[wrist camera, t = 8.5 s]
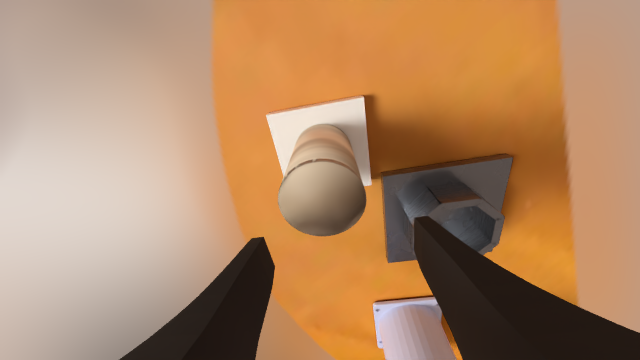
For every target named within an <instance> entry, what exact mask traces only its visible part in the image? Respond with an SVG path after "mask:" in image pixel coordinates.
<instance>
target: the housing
mask: <svg viewBox="0 0 640 360" xmlns="http://www.w3.org/2000/svg"><path fill="white" fill-rule="evenodd" d="M512 161H513V157H512V156H510V155H508V154H500V155H494V156H487V157H480V158H474V159H467V160H460V161H454V162H447V163H441V164H434V165H427V166H421V167H414V168H408V169H401V170H394V171H388V172H381V183H382V198H383V214H384V229H385V244H386V258H387V261H388V263H392V262H401V261H410V260H417V258H416V255H415V252H414V217H421V216H429V217H430V218H432V219H433V220H434V221H436V222H437V223H438V224H440V225H441V226H442V227H444V228H445V229H446V230H448V231H449V232H450V233H452V234H453V235H454V236H456V237H457V238H458V239H460V240H461V241H463V242H464V243H465V244H467V245H468V246H470V247H471V248H473V249H474V250H475V251H477V252H478V253H480V254H482V255H484V254H485V253H487V252H491V251H492V249H493V248H494V247H495V246H497V245H498V244H499V240H500V235H501V231H502V227H503V223H504V219H505V217H504V215H502V214H501V209H502V205H503V200H504V196H505V192H506V187H507V183H508V178H509V174H510V169H511V165H512Z"/></svg>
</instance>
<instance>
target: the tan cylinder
mask: <svg viewBox="0 0 640 360" xmlns="http://www.w3.org/2000/svg"><path fill="white" fill-rule="evenodd" d="M278 204H279V208H280V211H281V213H282V215H283V217H284V218H285V219H286V221H287V222H288V223H289V224H290V225H292V226H293V227H294V228H296V229H297V230H299V231H301V232H303V233H306V234H309V235H314V236H331V235H336V234H339V233H342V232H344V231H346V230H348V229H349V228H351V227H352V226H353V225H354V224H356V223H357V221H358V220H359V219H360V218H361V216H362V214H363V212H364V210H365V206H366V193H365V189H364V185H363V182H362V179H361V176H360V172H359V169H358V166H357V163H356V159H355V156H354V153H353V150H352V146H351V143H350V140H349V138H348V137H347V135H346V134H345V133H344V132H343V131H342V130H341V129H339V128H337V127H335V126H333V125H329V124H317V125H313V126H311V127H309V128H307V129H306V130H304V131H303V132H302V133H301V135H300V136H299V137H298V139H297V141H296V144H295V147H294V150H293V152H292V155H291V158H290V161H289V164H288V166H287V169H286V172H285V175H284V178H283V181H282V183H281V186H280V189H279V193H278Z"/></svg>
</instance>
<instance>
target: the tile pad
mask: <svg viewBox="0 0 640 360" xmlns="http://www.w3.org/2000/svg"><path fill="white" fill-rule="evenodd" d="M266 117H267V120H268V124H269V127H270V131H271V134H272V138H273V141H274V144H275V148H276V151H277V155H278V158H279V162H280V165H281V169H282V172H283V176H284V175H285V172H286V169H287V166H288V164H289V161H290V158H291V155H292V152H293V150H294V147H295V144H296V141H297V139H298V137H299V136H300V135H301V133H302V132H303V131H304V130H306V129H307V128H309V127H311V126H313V125H317V124H329V125H333V126H335V127H337V128H339V129H341V130H342V131H343V132H344V133H345V134H346V135H347V137H348V138H349V140H350V143H351V146H352V150H353V153H354V156H355V159H356V163H357V166H358V169H359V172H360V176H361V179H362V182H363V185H364V186H368V185H372V184H371V173H370V161H369V150H368V139H367V127H366V116H365V105H364V97H363V96H362V95H360V96H355V97H350V98H344V99H339V100H334V101H328V102H323V103H318V104H312V105H307V106H302V107H296V108H291V109H285V110H280V111H275V112H269V113H268V114H267V115H266Z"/></svg>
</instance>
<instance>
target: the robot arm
mask: <svg viewBox="0 0 640 360" xmlns="http://www.w3.org/2000/svg"><path fill="white" fill-rule="evenodd" d="M414 252H415V255H416V258H417V261H418V263H419V266H420V269H421V271H422V273H423V275H424V277H425V279H426V281H427V283H428V285H429V287H430V289H431V291H432V293H433V295H434V297H426V298H415V299H405V300H394V301H384V302H375V303H374V304H373V311H374V319H375V328H376V336H377V344H378V347H379V348H383V349H384V354H385V359H386V360H457V359H456V357H455V354H454V352H453V350H452V348H451V345H450V343H449V341H448V339H447V336H446V334H445V332H444V329H443V327H442V325H441V317H442V313H443V315H444V317H445V319H446V321H447V323H448V325H449V327H450V329H451V331H452V334H453V336H454V339H455V341H456V344H457V346H458V349H459V351H460V353H461V356H462V358H463V360H640V333H638V332H636V331H633V330H630V329H628V328H626V327H623V326H621V325H618V324H616V323H614V322H612V321H609V320H607V319H605V318H602V317H600V316H598V315H595V314H593V313H591V312H589V311H586V310H584V309H582V308H580V307H578V306H575V305H573V304H571V303H569V302H567V301H565V300H563V299H561V298H559V297H557V296H555V295H553V294H551V293H549V292H547V291H545V290H543V289H541V288H539V287H537V286H535V285H533V284H531V283H529V282H527V281H525V280H524V279H522V278H520V277H518V276H516V275H515V274H513V273H511V272H509V271H508V270H506V269H504V268H502V267H501V266H499V265H497V264H496V263H494V262H493V261H491V260H489V259H488V258H486V257H485V256H483V255H482V254H480V253H478V252H477V251H475V250H474V249H473V248H471V247H470V246H468V245H467V244H465V243H464V242H463V241H461V240H460V239H458V238H457V237H456V236H454V235H453V234H452V233H450V232H449V231H448V230H446V229H445V228H444V227H442V226H441V225H440V224H438V223H437V222H436V221H434V220H433V219H432V218H430V217H429V216H421V217H414ZM274 270H275V265H274V263H273V260H272V258H271V255H270V252H269V250H268V247H267V245H266V242H265V239H264V237H259V238H252V239H251V240H250V241H249V242H248V243H247V244H246V245H245V246H244V248H243V249H242V250H241V251H240V252H239V253H238V254H237V256H236V257H235V258H234V259H233V260H232V261H231V262H230V264H229V265H228V266H227V267H226V268H225V269H224V270H223V271H222V272H221V273H220V274H219V275H218V276H217V277H216V278H215V280H214V281H213V282H212V283H211V284H210V285H209V286H208V287H207V288H206V289H205V290H204V291H203V292H202V293H201V294H200V295H199V296H198V297H197V298H196V299H195V300H193V301H192V302H191V303H190V304H189V305H188V306H187V307H186V308H185V309H184V310H182V311H181V312H180V313H179V314H178V315H177V316H176V317H174V318H173V319H172V320H171V321H169V322H168V323H167V324H166V325H164V326H163V327H162V328H161V329H159V330H158V331H157V332H156V333H155V334H153V335H152V336H151V337H150V338H148V339H147V340H146V341H144V342H143V343H142V344H140V345H139V346H137V347H136V348H135V349H133V350H132V351H131V352H129V353H128V354H126V355H125V356H124V357H122V358H121V359H120V360H255V357H256V351H257V346H258V341H259V337H260V333H261V329H262V325H263V321H264V317H265V313H266V310H267V306H268V302H269V298H270V294H271V290H272V285H273V278H274Z"/></svg>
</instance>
